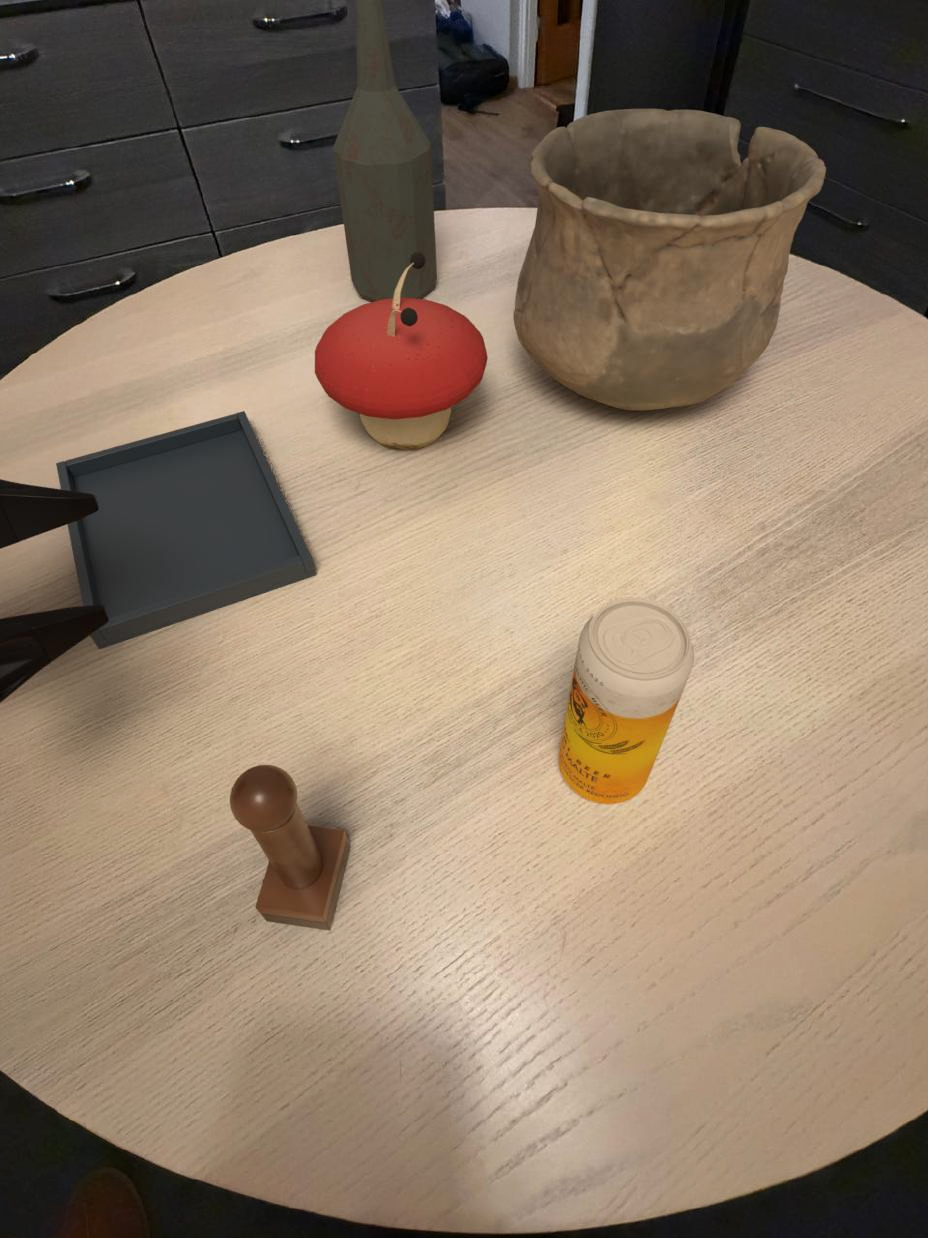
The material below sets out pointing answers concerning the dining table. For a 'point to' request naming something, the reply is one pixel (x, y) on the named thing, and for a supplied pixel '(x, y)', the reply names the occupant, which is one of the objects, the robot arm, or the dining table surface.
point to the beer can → (623, 697)
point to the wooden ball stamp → (290, 850)
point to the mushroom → (401, 365)
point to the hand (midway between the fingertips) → (101, 554)
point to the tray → (181, 527)
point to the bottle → (384, 174)
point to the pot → (659, 253)
